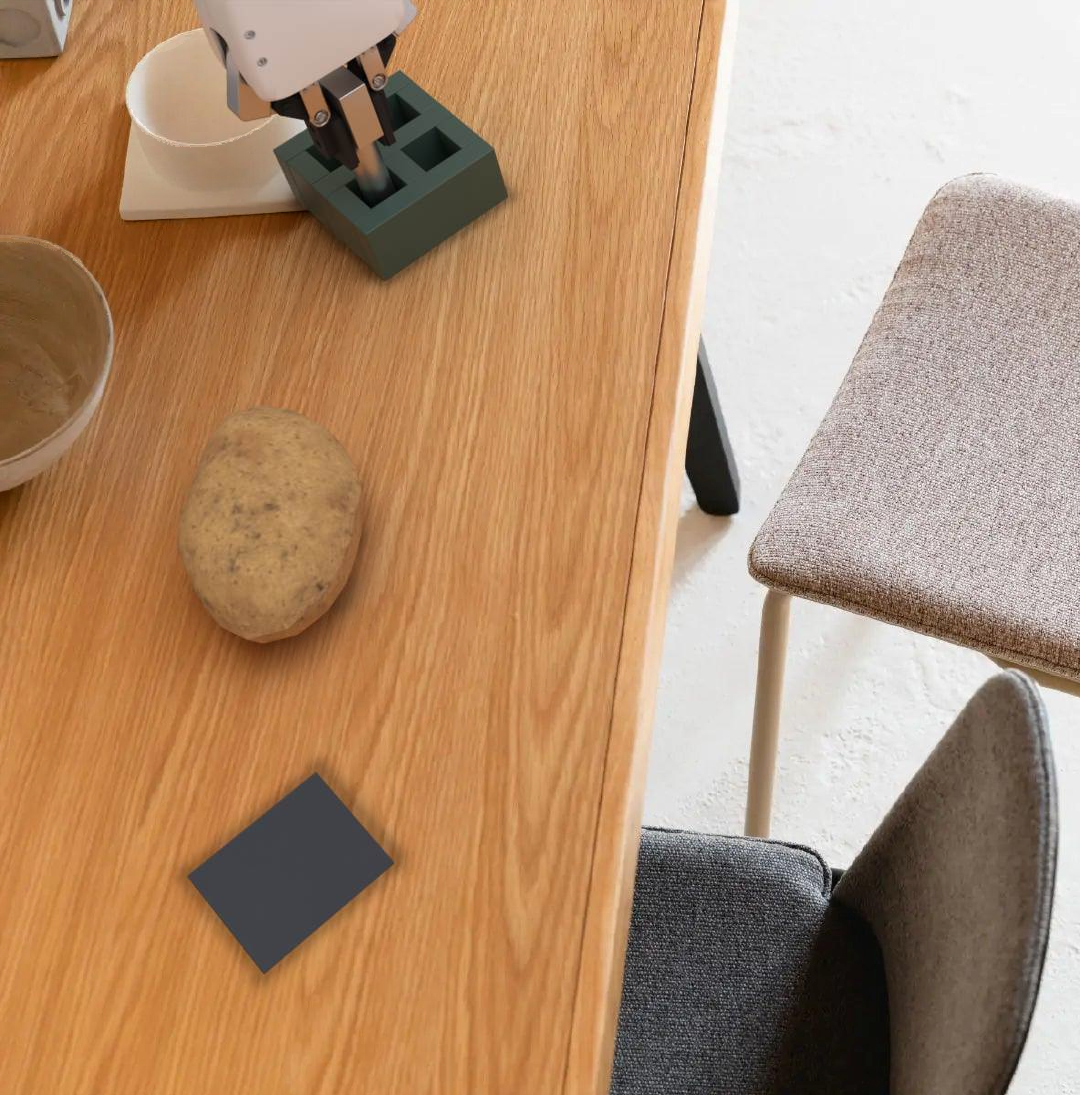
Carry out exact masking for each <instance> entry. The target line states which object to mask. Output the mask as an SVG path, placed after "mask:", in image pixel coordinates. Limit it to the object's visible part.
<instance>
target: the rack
mask: <svg viewBox="0 0 1080 1095" xmlns="http://www.w3.org/2000/svg"><path fill="white" fill-rule="evenodd" d="M383 89H384V92H385V95H386V98H387V100H388V103H389V106H390V109H391V111H392V114H393V119H391V120H390V121H389V123H390V126H391V128H392V131H393V134H394V136H395V139H396V142H395V143H394V144H392V145H391V146H389V147H388V146H387V145H386V146H383V145H382V144H381V143H380V142H379V141H378V140H376V141H377V144H378V146H379V149H380V152H381V154H382V157H383V159H384V162H385V165H386V167H387V170H388V172H389V175H390V178H391V180H392V183H393V185H394V188H395V191H396V193H395V194H393V195H392V196H390V197H389V198H387V199H386V200H384V201H383V202H381V203H380V204H378V205H377V206H375V207H374V208H372V209H370V208H369V207H368V206H367V204H366V202H365V200H364V197H363V195H362V192H361V190H360V188H359V185H358V183H357V180H356V178H355V175H354V173H353V171H350V170H349V169H348V168H347V167H346V166H344V165H343V164H342V163H341V162H340V161H339V160H338V159H337V158H336V157H332V158H331V159H327V158H326V157H325V156H323V155H322V154H321V153H320V152H319V150H318V149H317V148H316V146H315V144H314V142H313V140H312V138H311V136H310V133H309V131H308V129H307V128H304V129H303V130H302V131H301V132H298V133H297V134H296V135H294V136H292V137H290V138H289V139H288V140H286V141H285V142H282V143H281V144H279V145H278V146H276V147H275V148H273V149H272V152H273V154H274V156H275V158H276V161H277V163H278V165H279V166H280V169H281V171H282V173H283V175H284V177H285V179H286V181H287V184H288V186H289V188H290V190H291V192H292V194H293V196H294V198H295V200H297V202H298V203H300V204H301V205H302V206H303V208H305V209H306V210H307V211H308V212H310V214H311V215H312V216H314V218H316V219H317V220H318V221H319V222H320V223H321V224H322V225H323V226H324V227H326V228H327V229H328V230H329V231H330V232H331V233H332V234H333V235H334V236H335V237H336V238H337V239H338V240H340V241H341V242H342V243H343V244H344V245H345V246H346V247H347V248H348V249H349V250H350V251H351V252H353V253H354V254H355V255H356V256H357V257H358V258H359V259H360V260H361V261H362V262H363V263H365V265H367V266H368V267H369V269H371V270H372V271H373V272H374V273H375V274H377V275H378V276H379V277H380V278H381V279H382V280H383V281H384V282H387V281H388V280H390V279H391V278H393V277H395V276H396V275H398V274H399V273H400V272H402V271H403V270H405V269H406V268H407V267H409V266H410V265H411V264H413V263H414V262H416V261H418V260H419V259H421V258H422V257H423V256H425V255H427V254H428V253H429V252H431V251H432V250H433V249H435V248H436V247H438V246H440V245H441V244H442V243H443V242H445V241H447V240H448V239H449V238H451V237H452V236H454V235H456V234H457V233H458V232H460V231H461V230H463V229H464V228H466V227H467V226H468V225H470V224H471V223H473V222H474V221H476V220H478V219H479V218H481V217H482V216H483V215H485V214H486V213H487V212H489V211H491V210H492V209H493V208H495V207H496V206H497V205H499V204H501V203H502V202H504V201H505V200H507V199H508V198H509V194H508V190H507V188H506V184H505V180H504V177H503V172H502V170H501V167H500V163H499V160H498V156H497V153H496V150H495V148H494V147H493V146H492V145H491V144H489V142H487V141H486V140H484V138H482V137H481V136H480V135H479V134H478V133H477V132H475V131H474V130H473V129H472V128H470V126H468V125H467V124H466V123H465V122H463V121H462V120H461V119H460V118H458V117H457V116H456V115H455V114H454V113H453V112H452V111H450V110H449V109H448V108H447V107H446V106H444V105H443V104H441V102H439V101H438V100H436V98H434V97H433V96H432V95H430V93H428V92H427V91H426V90H425V89H423V88H422V87H421V86H420V85H419V84H417V83H416V82H415V81H414V80H413V79H412V78H411V77H409V76H408V75H407V74H406V73H405V72H403V71H402V70H401V69H398V70H397V71H395V72H394V73H393V74H390V75H389V76H388V82H387V84H386V86H385V87H384V88H383Z"/></svg>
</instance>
